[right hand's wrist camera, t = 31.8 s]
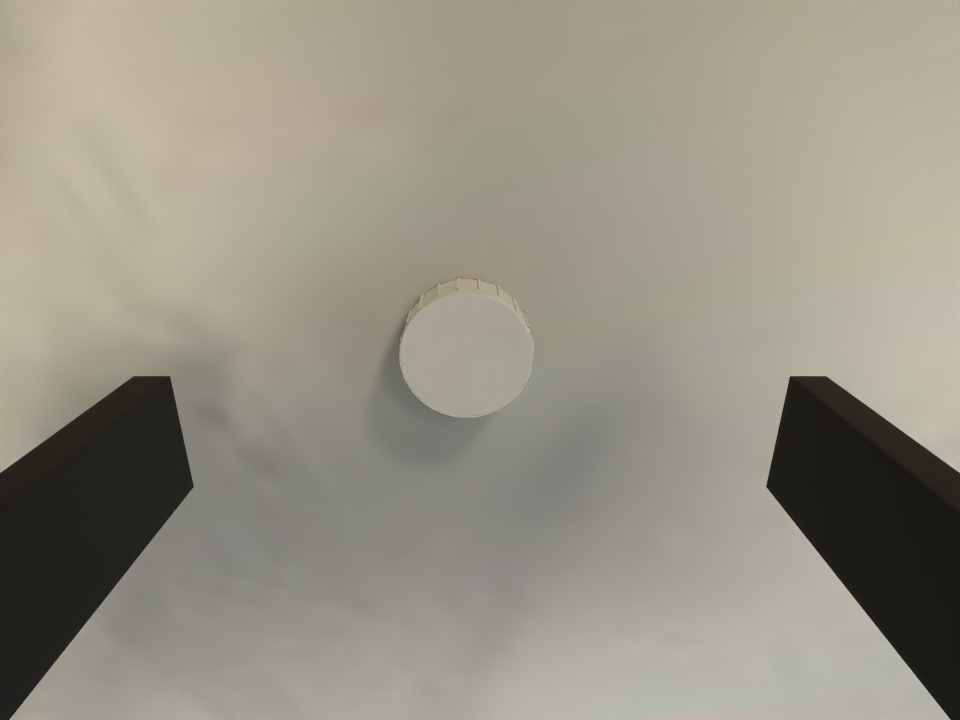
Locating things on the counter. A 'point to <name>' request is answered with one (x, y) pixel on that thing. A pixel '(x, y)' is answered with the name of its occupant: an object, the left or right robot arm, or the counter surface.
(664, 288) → the counter surface
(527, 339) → the cap
